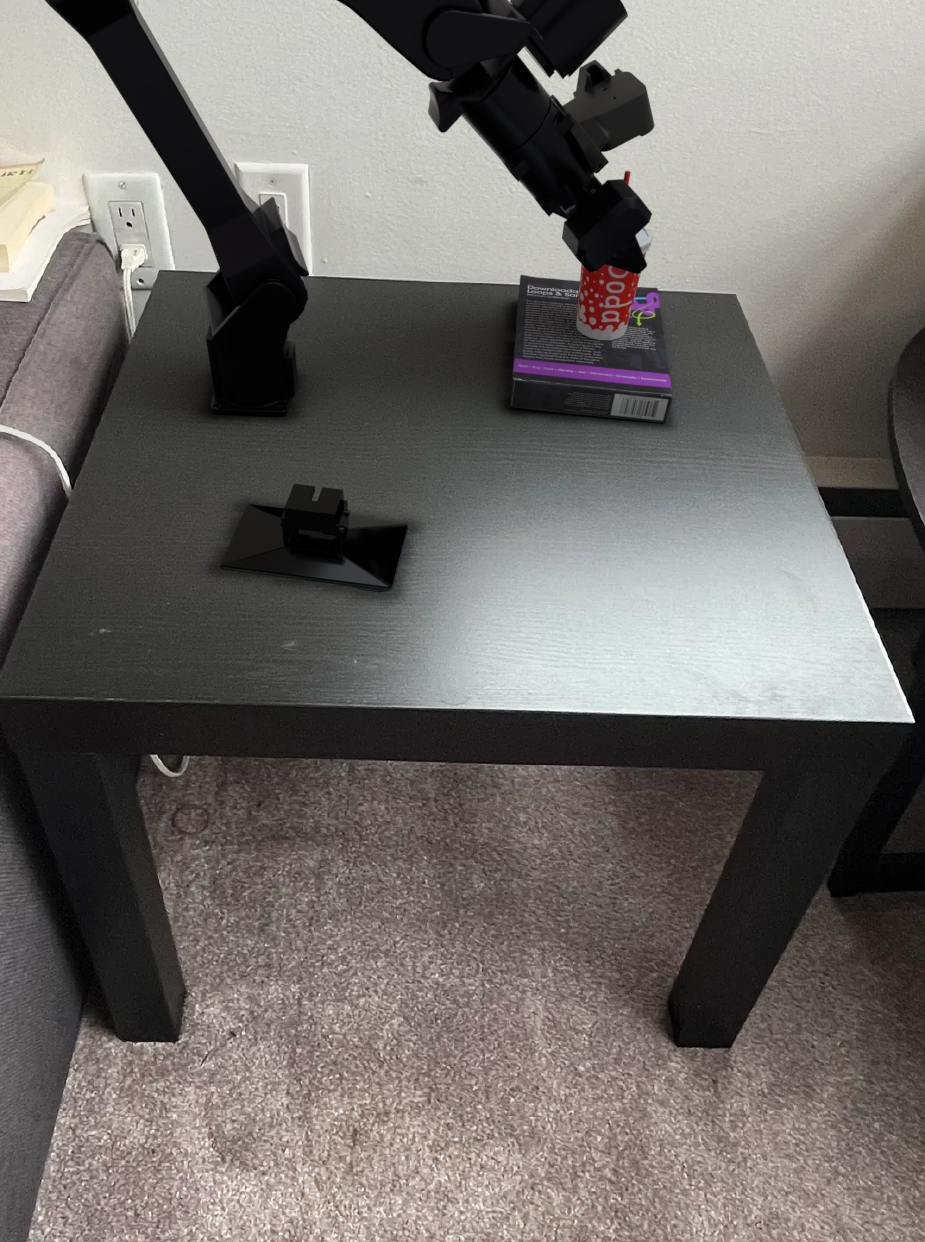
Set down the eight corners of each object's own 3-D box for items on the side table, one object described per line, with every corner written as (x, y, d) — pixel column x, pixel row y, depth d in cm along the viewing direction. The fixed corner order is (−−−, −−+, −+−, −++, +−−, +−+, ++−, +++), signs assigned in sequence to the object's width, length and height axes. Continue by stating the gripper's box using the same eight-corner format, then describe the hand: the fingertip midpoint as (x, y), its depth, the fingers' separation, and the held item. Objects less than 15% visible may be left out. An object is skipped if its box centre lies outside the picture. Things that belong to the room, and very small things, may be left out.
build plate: (408, 528, 74) (410, 479, 71) (391, 594, 69) (391, 545, 66) (248, 507, 75) (242, 457, 72) (219, 571, 70) (212, 521, 67)
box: (665, 429, 86) (654, 315, 99) (674, 395, 83) (661, 283, 97) (507, 412, 86) (517, 300, 99) (511, 378, 84) (521, 268, 97)
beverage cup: (566, 340, 88) (589, 183, 78) (569, 307, 92) (591, 154, 82) (634, 348, 88) (666, 191, 78) (634, 314, 92) (664, 161, 82)
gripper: (651, 81, 66) (753, 231, 76) (560, 2, 78) (659, 141, 89) (528, 204, 70) (641, 331, 80) (459, 111, 82) (565, 231, 93)
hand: (628, 252), depth 85 cm, fingers closed on beverage cup, 6 cm apart
